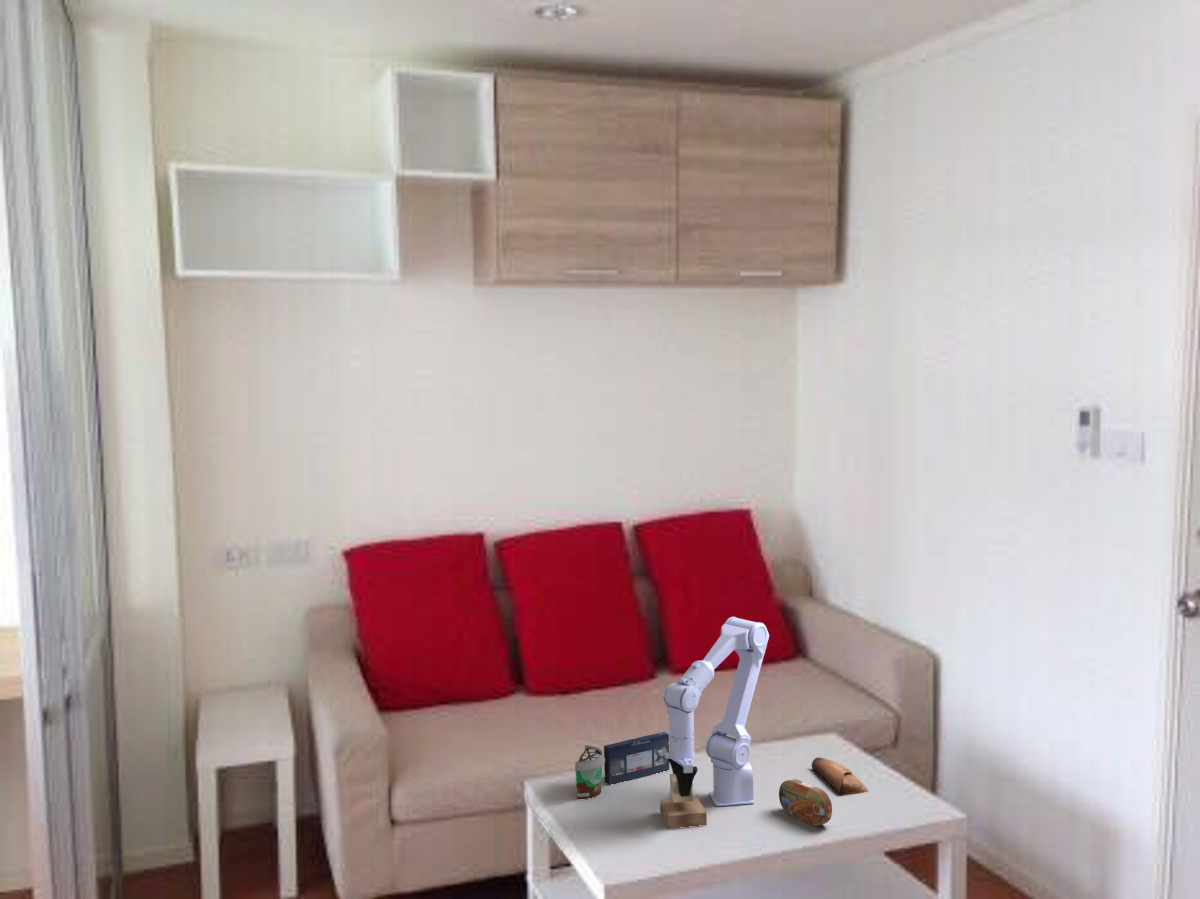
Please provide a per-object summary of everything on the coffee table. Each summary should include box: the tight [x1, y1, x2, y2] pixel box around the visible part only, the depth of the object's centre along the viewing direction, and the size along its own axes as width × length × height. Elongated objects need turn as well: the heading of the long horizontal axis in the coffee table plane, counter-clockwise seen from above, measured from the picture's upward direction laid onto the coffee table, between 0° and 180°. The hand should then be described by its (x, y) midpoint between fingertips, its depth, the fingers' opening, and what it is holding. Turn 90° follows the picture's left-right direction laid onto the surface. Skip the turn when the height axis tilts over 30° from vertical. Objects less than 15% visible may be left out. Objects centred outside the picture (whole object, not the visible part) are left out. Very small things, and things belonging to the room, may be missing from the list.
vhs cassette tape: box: [603, 731, 671, 786], centre depth 285 cm, size 18×3×10 cm, turn 118°
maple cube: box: [669, 773, 694, 803], centre depth 259 cm, size 4×4×5 cm
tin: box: [778, 778, 833, 827], centre depth 258 cm, size 15×3×8 cm, turn 35°
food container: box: [574, 744, 605, 800], centre depth 276 cm, size 12×6×10 cm, turn 168°
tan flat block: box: [659, 796, 708, 830], centre depth 260 cm, size 9×9×4 cm
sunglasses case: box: [811, 756, 870, 797], centre depth 280 cm, size 18×7×7 cm
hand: (682, 791), depth 259 cm, fingers closed on maple cube, 4 cm apart
